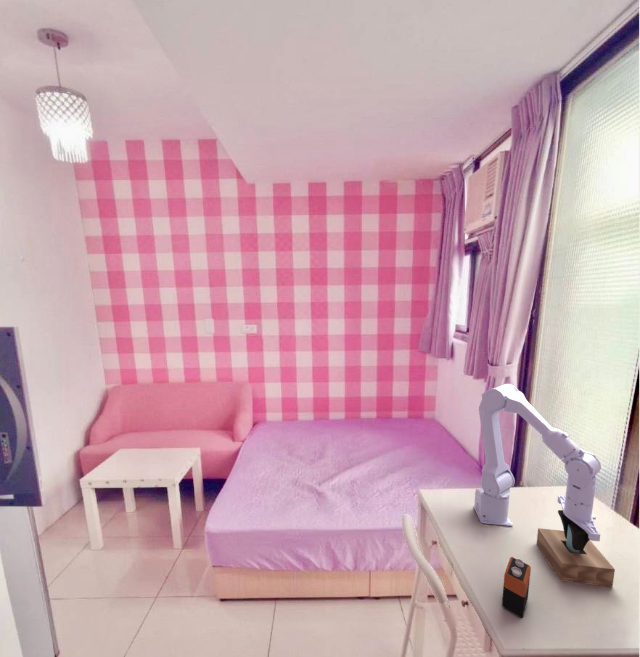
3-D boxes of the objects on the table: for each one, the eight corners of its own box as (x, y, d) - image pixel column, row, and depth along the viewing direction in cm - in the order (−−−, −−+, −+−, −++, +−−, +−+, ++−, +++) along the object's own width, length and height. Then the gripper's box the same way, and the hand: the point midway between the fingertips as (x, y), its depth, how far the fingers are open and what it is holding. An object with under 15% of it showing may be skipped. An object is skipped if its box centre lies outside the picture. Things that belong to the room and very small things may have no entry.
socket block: (560, 580, 83) (561, 563, 82) (536, 543, 95) (538, 528, 94) (612, 586, 81) (614, 569, 81) (582, 548, 93) (583, 532, 92)
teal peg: (569, 558, 86) (572, 531, 85) (562, 549, 89) (565, 523, 88) (581, 559, 86) (585, 532, 85) (574, 550, 89) (577, 524, 88)
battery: (501, 607, 76) (504, 570, 75) (508, 587, 81) (511, 551, 80) (522, 619, 74) (526, 581, 72) (528, 598, 79) (531, 561, 77)
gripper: (616, 519, 78) (609, 569, 80) (578, 482, 92) (573, 525, 94) (584, 516, 79) (578, 565, 81) (551, 480, 93) (547, 523, 95)
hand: (573, 544), depth 87 cm, fingers closed on teal peg, 3 cm apart
